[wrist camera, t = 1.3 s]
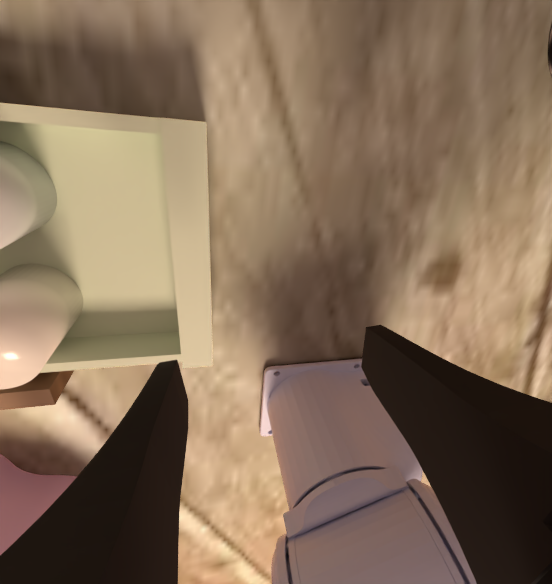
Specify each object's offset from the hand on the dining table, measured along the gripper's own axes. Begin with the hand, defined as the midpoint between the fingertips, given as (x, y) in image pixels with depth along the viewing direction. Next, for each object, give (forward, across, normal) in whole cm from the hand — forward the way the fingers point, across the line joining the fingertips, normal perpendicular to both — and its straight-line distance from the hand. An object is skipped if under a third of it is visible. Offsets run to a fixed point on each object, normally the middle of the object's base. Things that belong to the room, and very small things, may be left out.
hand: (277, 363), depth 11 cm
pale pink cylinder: (+9, +12, 0) cm, 15 cm away
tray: (+10, +9, -2) cm, 13 cm away
